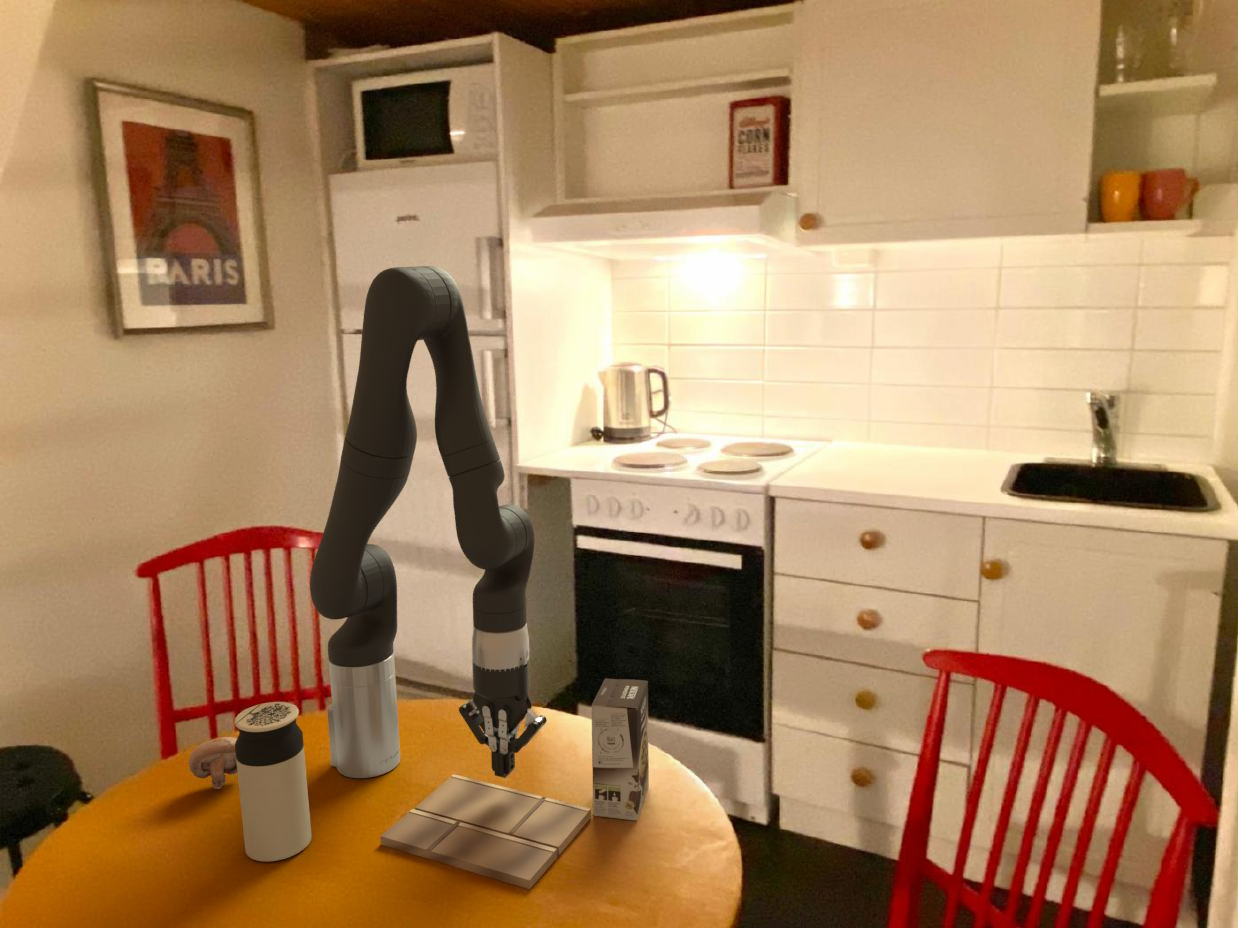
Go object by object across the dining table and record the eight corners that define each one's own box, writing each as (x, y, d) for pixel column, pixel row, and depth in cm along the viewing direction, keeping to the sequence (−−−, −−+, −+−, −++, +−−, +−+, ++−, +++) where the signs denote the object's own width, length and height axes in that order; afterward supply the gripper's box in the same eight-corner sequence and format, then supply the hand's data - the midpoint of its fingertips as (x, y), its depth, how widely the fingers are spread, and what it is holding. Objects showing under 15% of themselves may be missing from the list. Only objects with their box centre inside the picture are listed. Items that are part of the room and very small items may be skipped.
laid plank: (380, 844, 117) (380, 835, 117) (413, 817, 123) (412, 808, 123) (529, 889, 108) (529, 879, 108) (557, 857, 114) (556, 847, 114)
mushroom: (184, 799, 128) (178, 746, 127) (204, 776, 134) (198, 726, 133) (238, 799, 128) (233, 746, 127) (255, 776, 134) (250, 725, 133)
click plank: (415, 815, 124) (414, 806, 124) (454, 781, 132) (453, 773, 132) (558, 855, 115) (558, 846, 114) (591, 816, 123) (590, 808, 122)
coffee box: (639, 821, 122) (637, 708, 119) (591, 816, 123) (589, 704, 120) (650, 785, 130) (649, 679, 127) (606, 781, 132) (604, 675, 129)
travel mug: (324, 833, 120) (313, 705, 117) (284, 869, 113) (271, 733, 109) (274, 822, 123) (262, 696, 119) (231, 856, 115) (217, 724, 112)
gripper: (442, 657, 121) (447, 776, 125) (530, 675, 116) (532, 799, 119) (474, 637, 128) (477, 751, 132) (558, 653, 123) (559, 771, 126)
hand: (503, 773), depth 125 cm, fingers closed
